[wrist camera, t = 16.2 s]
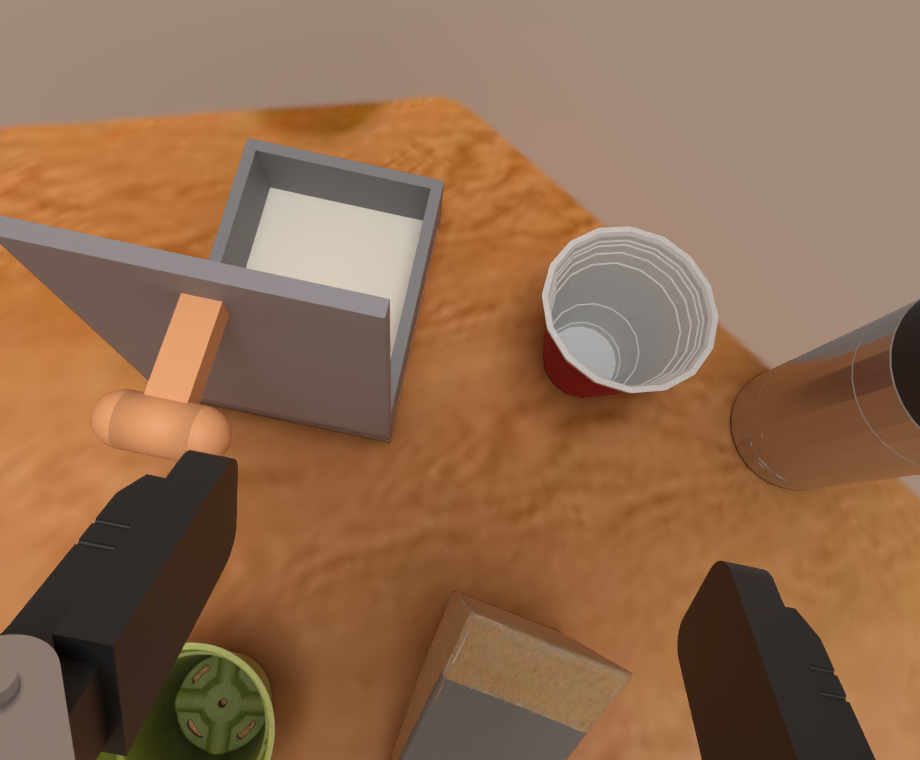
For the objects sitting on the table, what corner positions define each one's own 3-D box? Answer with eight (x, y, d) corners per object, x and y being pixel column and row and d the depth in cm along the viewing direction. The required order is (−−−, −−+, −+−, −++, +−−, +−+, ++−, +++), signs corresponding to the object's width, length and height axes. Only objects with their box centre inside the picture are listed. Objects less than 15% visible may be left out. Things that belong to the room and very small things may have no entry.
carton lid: (-1, 215, 24) (-91, 395, 22) (389, 298, 24) (343, 485, 22) (162, 377, 41) (121, 488, 39) (391, 425, 41) (365, 537, 39)
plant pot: (235, 593, 45) (195, 604, 37) (329, 699, 44) (310, 736, 35) (120, 700, 43) (51, 738, 34) (216, 814, 42) (168, 883, 33)
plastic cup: (672, 332, 52) (749, 271, 40) (616, 454, 49) (681, 427, 38) (548, 268, 52) (589, 189, 41) (486, 385, 50) (511, 338, 38)
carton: (265, 182, 52) (247, 137, 46) (440, 221, 53) (444, 181, 47) (198, 402, 48) (169, 383, 42) (389, 442, 48) (387, 428, 42)
